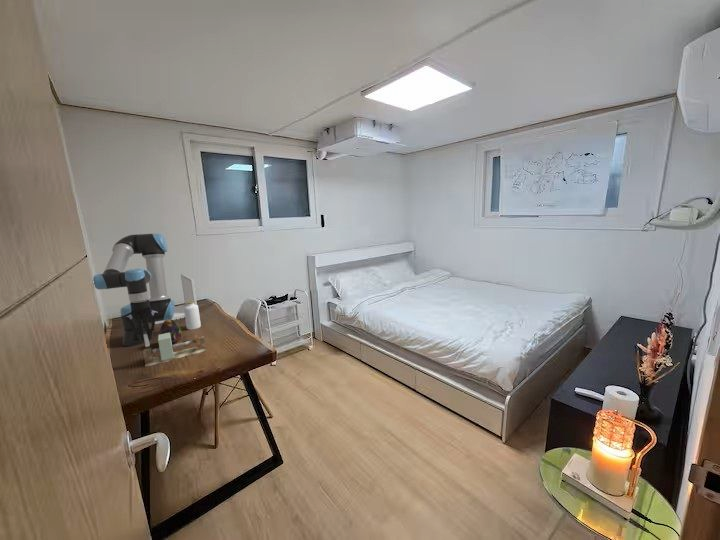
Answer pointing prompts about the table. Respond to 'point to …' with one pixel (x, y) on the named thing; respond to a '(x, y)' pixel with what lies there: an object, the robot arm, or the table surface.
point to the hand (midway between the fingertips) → (147, 345)
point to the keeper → (165, 346)
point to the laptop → (188, 296)
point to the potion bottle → (192, 316)
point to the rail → (179, 354)
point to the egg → (171, 330)
